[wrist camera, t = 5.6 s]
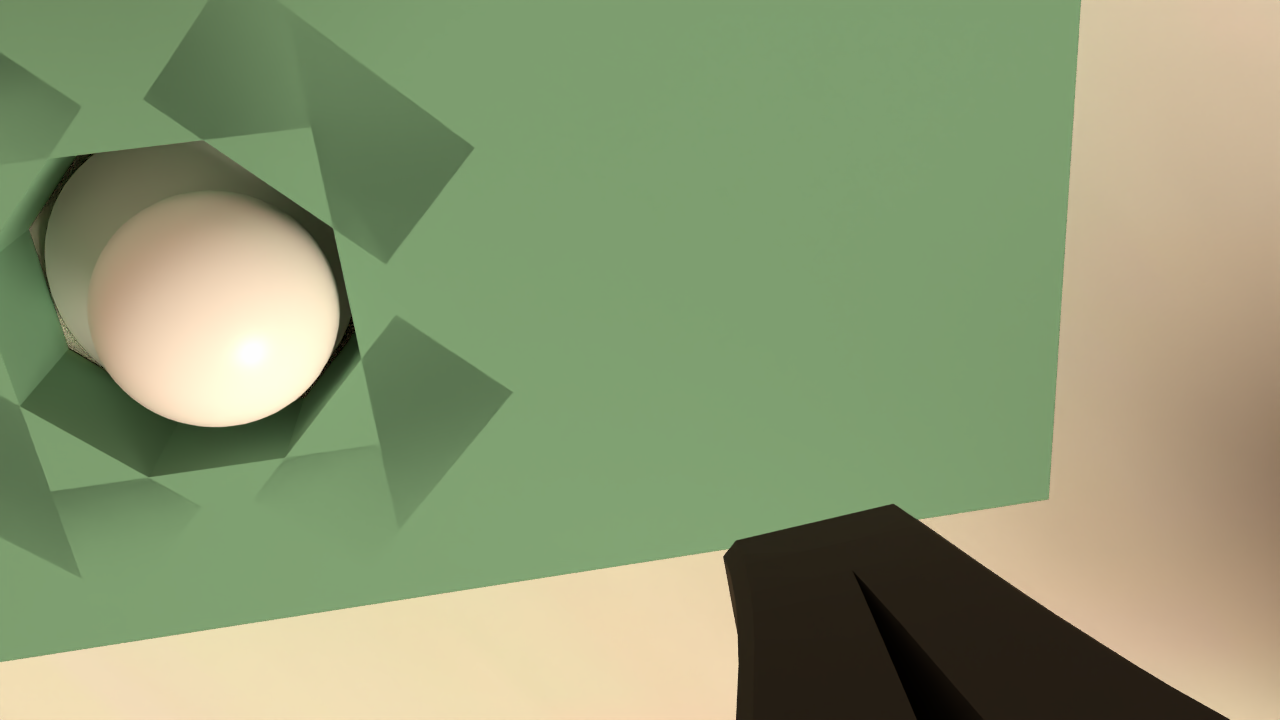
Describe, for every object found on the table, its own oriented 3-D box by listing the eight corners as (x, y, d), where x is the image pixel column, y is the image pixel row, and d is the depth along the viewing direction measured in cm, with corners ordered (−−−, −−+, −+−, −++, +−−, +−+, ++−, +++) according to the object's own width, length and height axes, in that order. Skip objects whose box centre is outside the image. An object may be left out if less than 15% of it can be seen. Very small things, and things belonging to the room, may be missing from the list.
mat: (1022, -183, 16) (1093, -189, 14) (996, 441, 20) (1048, 499, 18) (-248, -50, 14) (-353, -37, 13) (5, 590, 19) (-47, 669, 17)
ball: (-5, 253, 13) (127, 175, 16) (89, 481, 15) (196, 372, 18) (247, 223, 13) (337, 148, 16) (320, 461, 14) (391, 353, 17)
